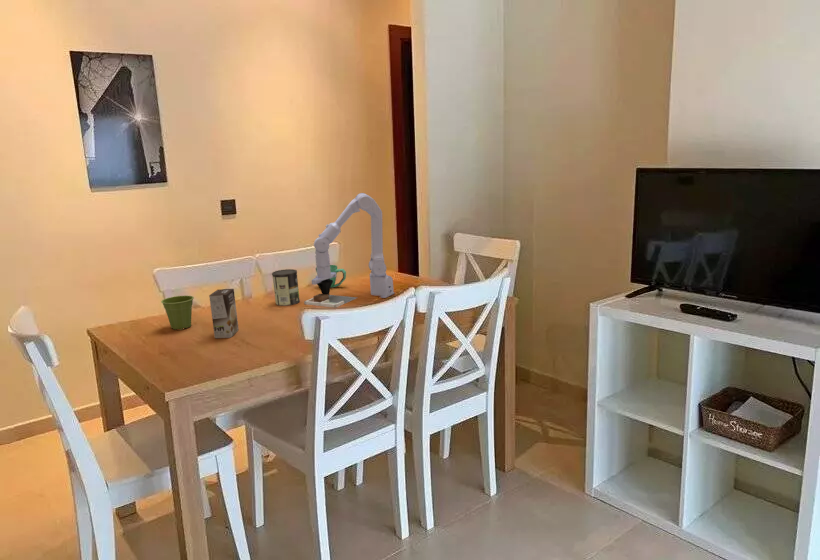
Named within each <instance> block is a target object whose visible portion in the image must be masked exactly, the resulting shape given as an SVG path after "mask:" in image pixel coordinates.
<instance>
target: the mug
mask: <svg viewBox="0 0 820 560" xmlns="http://www.w3.org/2000/svg"><path fill="white" fill-rule="evenodd" d="M330 271H331V273H332V272H336V277H333V278H330V280H333V283H332V285H331V288H330V289H333V288H336V287H339V286H342V284H343V282H344V281H345V280H346V279H347V270H345V269H344V268H338V265H336V264H330ZM315 272H316V273H317V268H316V267H315ZM338 273H342V278H341V280H340V281H339V282H337V283H336V281H337V274H338Z"/></svg>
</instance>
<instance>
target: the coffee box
mask: <svg viewBox="0 0 820 560" xmlns="http://www.w3.org/2000/svg"><path fill="white" fill-rule="evenodd" d="M208 296H209V302H210V303H209V304H210V311H211V318H212V319H211V320H212V326H213V334H214V335H213V336H214V339H230V338H233V336H235V335H236V333H237V332H238V331H239V321H238V312H237V306H236V305H237V304H236V297H235V289H234V288H225V289H223V288H222V289H216V290H215V291H214V292H212V293H211V294H209V295H208Z"/></svg>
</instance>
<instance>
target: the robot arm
mask: <svg viewBox="0 0 820 560" xmlns="http://www.w3.org/2000/svg"><path fill="white" fill-rule="evenodd" d="M361 210H362V211H365V212H366V213H367V214H368V215H369V216H370V234H371V235H370V240H371V241H370V243H371V245H370V247H371V253H370V260H369V262H368V268H369V270H370V271H371V272H370V273H369V283H370V295H371V296H378V297H379V298H383V299H384V298H385V299H386V298H388V297H390V296H392V295H394V294H395V292H394V278H393V277H392V276H390V275H388V274H387V272H386V271H387V265H386V264H385V263H386V262H385V257H384V249H383V247H384V244H383V243H384V242H383V234H384V233H383V211H382V209H381V208H380V206H379V204H378V203H377V202H376V200H375V199H374V198H373V197H371V196H370V195H368V194H366V193H365V192H360V193H358V194H357V195H356V196H355V198H352V200H351V201H350V202H349V203H348V204H347V206H346V207H345V208H344V210H343V211H342V212H341V213H340V214H339V216H338V218H337V219H336V220H335V221H334V222H330V223H329V224H328V223H327V224H326V225H325V229H324V230H323V231H322V232H321V233H319V234H318V237H317V238H315V240H314V241H313V247H314V249H315V252H314V253H315V256H314V257H315V265H316V267H315V269H316V268H317V272H316V275H315V277H314V278H313V279H311V285H313V286H314V285H315V286H316V285H317V286H318V288H319V289H320V292H321V294H329V295H330V291H331V289H332V288H331V285H332V283H333V280H330V278H333V277H336V278H337V275H336V272H332V273H331V271H330V265H331V263H330V262H331V261H330V259H331V258H330V254H329V249H330V244H332V243H333V242H334V241H335V240H336V238H337V237H339V235H340V234H341V231H342V230H341V228H342V226H343V225H344V224H345V223H346V222H347V221H348V220H349V218H351V216H352V215H354V214H355V213H359V212H360V213H361Z"/></svg>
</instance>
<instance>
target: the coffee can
mask: <svg viewBox="0 0 820 560" xmlns="http://www.w3.org/2000/svg"><path fill="white" fill-rule="evenodd" d="M271 275H272V281H273V289H274V301H275V305H276V306H279V307H280V306H281V307H288V306H293V305H297V304H299V303H300V302H301V301H300V300H301V299H300V292H299V283H298V281H299V280H298V271H297V269H292V268H286V269H279V270H275V271H273V272H272V273H271Z"/></svg>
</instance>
